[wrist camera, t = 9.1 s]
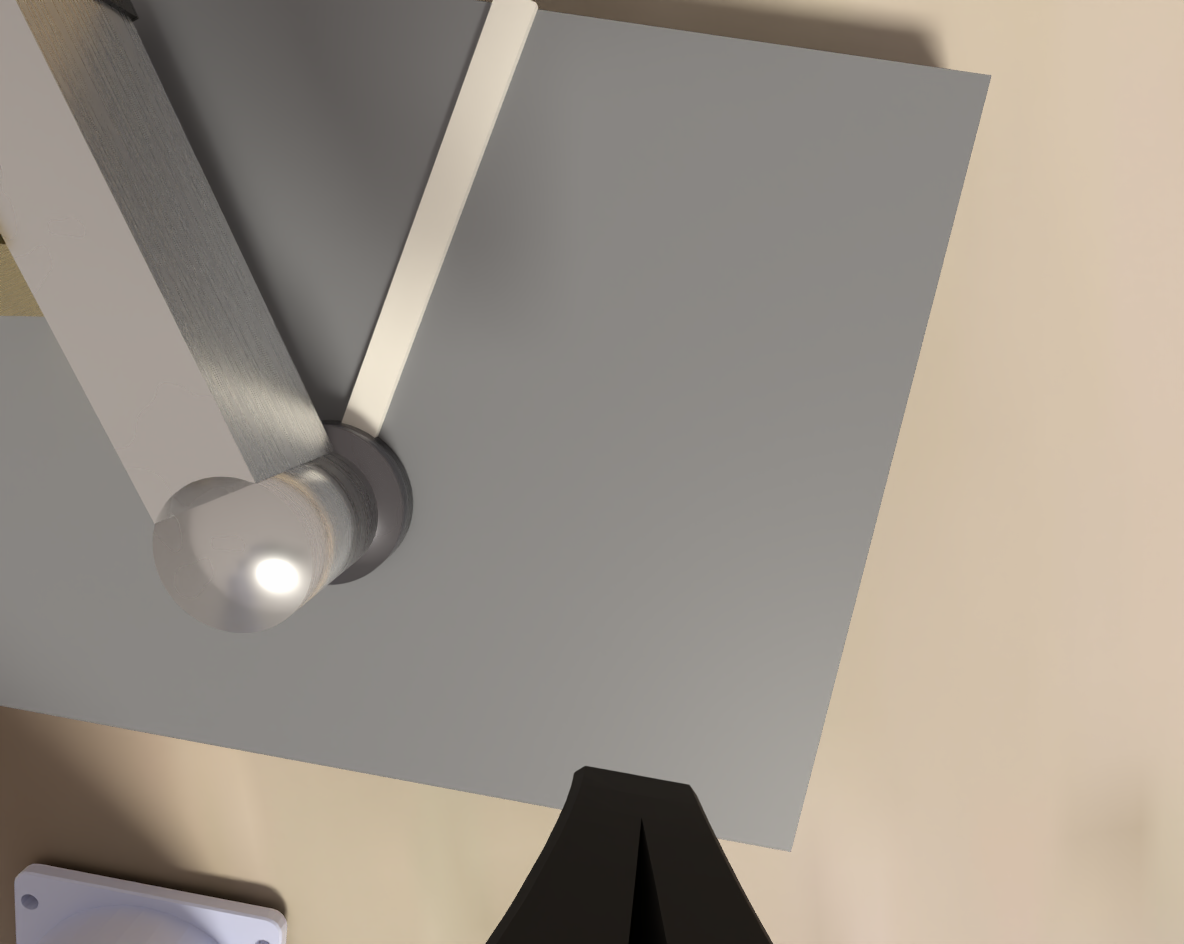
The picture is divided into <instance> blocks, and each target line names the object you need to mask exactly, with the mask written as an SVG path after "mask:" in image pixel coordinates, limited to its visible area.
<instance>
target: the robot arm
mask: <svg viewBox="0 0 1184 944" xmlns="http://www.w3.org/2000/svg"><path fill="white" fill-rule="evenodd" d="M14 891H15V920H16V944H286V936H287V921H286V919H285V917H284V916H283V914H282V913H280V912H279V911H278V910H275V909H272V908H267V907H262V906H257V905H251V904H246V903H241V902H236V901H231V900H226V899H220V898H215V897H210V896H205V895H200V894H194V893H189V892H184V891H179V890H174V889H168V888H163V887H158V886H153V885H148V884H142V883H137V882H132V881H127V880H122V879H116V878H111V877H106V876H101V875H96V874H91V873H85V872H80V871H75V870H70V869H65V868H59V867H54V866H49V865H44V864H31V865H29V866H27V867H26V868H25V869H24V870H23V871H21V872H20V873H19V874H18V875H17V876H16V878H15V882H14ZM267 941H268V942H267ZM486 944H773V943H772V941H771V939H770V937H769V936H768V934H767V932H766V930H765V929H764V927H763V925H762V923H761V922H760V920H759V918H758V916H757V914H756V913H755V911H754V909H753V907H752V905H751V903H750V902H749V900H748V898H747V896H746V894H745V892H744V890H743V889H742V887H741V885H740V883H739V881H738V879H737V877H736V875H735V873H734V871H733V869H732V867H731V865H730V863H729V861H728V859H727V857H726V855H725V853H724V851H723V849H722V847H721V845H720V843H719V841H718V839H717V837H716V835H715V833H714V831H713V829H712V827H711V825H710V823H709V821H708V818H707V816H706V814H705V812H704V810H703V808H702V805H701V803H700V801H699V799H698V797H697V795H696V793H695V792H694V790H693V789H692V787H691V786H690V785H689V784H683V783H678V782H672V781H667V780H661V779H656V778H650V777H645V776H640V775H634V774H629V773H623V772H618V771H612V770H607V769H601V768H596V767H590V766H584V767H582V768H581V769H579V770H577V771H576V772H574V775H573V780H572V784H571V788H570V791H569V793H568V796H567V799H566V802H565V804H564V807H563V809H562V811H561V814H560V816H559V818H558V820H557V822H556V824H555V826H554V828H553V830H552V833H551V835H550V837H549V839H548V841H547V843H546V845H545V847H544V848H543V850H542V852H541V854H540V856H539V857H538V859H537V861H536V863H535V864H534V866H533V868H532V870H531V871H530V873H529V875H528V877H527V878H526V880H525V882H524V883H523V885H522V887H521V889H520V890H519V892H518V894H517V896H516V897H515V899H514V901H513V902H512V904H511V906H510V907H509V909H508V910H507V912H506V914H505V915H504V917H503V918H502V920H501V921H500V923H499V924H498V926H497V927H496V929H495V930H494V932H493V933H492V935H491V936H490V938H489V939H488V941H487V942H486Z"/></svg>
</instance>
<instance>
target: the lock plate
mask: <svg viewBox="0 0 1184 944" xmlns="http://www.w3.org/2000/svg"><path fill="white" fill-rule="evenodd" d="M131 2H132V4H133V6H134V8H135V11H136V13H137V15H138V17H139V19H137V20H136V21H134V22H133V24H134V26H135V28H136V30H137V32H138V35H139V37H140V39H141V41H142V43H143V45H144V47H145V49H146V52H147V54H148V56H149V58H150V60H151V62H152V64H153V66H154V69H155V71H156V73H157V75H158V77H159V79H160V81H161V83H162V86H163V88H164V90H165V92H166V94H167V96H168V98H169V100H170V103H171V105H172V107H173V109H174V111H175V113H176V115H177V117H178V120H179V122H180V124H181V126H182V128H183V130H184V132H185V134H186V137H187V139H188V141H189V143H190V145H191V147H192V149H193V151H194V153H195V156H196V158H197V160H198V162H199V164H200V166H201V168H202V170H203V173H204V175H205V177H206V179H207V181H208V183H209V185H210V187H211V190H212V192H213V194H214V196H215V198H216V200H217V202H218V204H219V207H220V209H221V211H222V213H223V215H224V217H225V219H226V221H227V224H228V226H229V228H230V230H231V232H232V234H233V236H234V238H235V241H236V243H237V245H238V247H239V249H240V251H241V253H242V255H243V257H244V260H245V262H246V264H247V266H248V268H249V270H250V272H251V274H252V277H253V279H254V281H255V283H256V285H257V287H258V289H259V291H260V294H261V296H262V298H263V300H264V302H265V304H266V306H267V308H268V311H269V313H270V315H271V317H272V319H273V321H274V323H275V325H276V328H277V330H278V332H279V334H280V336H281V338H282V340H283V342H284V345H285V347H286V349H287V351H288V353H289V355H290V357H291V359H292V361H293V364H294V366H295V368H296V370H297V372H298V374H299V376H300V378H301V381H302V383H303V385H304V387H305V389H306V391H307V393H308V395H309V398H310V400H311V402H312V404H313V406H314V408H315V410H316V412H317V415H318V417H319V419H320V421H321V420H337V421H342V422H341V423H344V424H348V425H351V426H354V427H356V428H359V429H361V430H363V431H365V432H367V433H369V434H370V435H371V436H373V437H374V438H375V437H377V436H378V437H380V438H381V439H382V440H383V441H384V442H386V443H387V444H388V445H389V446H390V447H391V448H392V450H393V451H394V452H395V453H396V454H397V456H398V457H399V459H400V460H401V462H402V464H403V465H404V467H405V469H406V471H407V474H408V477H409V479H410V483H411V487H412V492H413V515H412V520H411V524H410V527H409V530H408V532H407V534H406V536H405V538H404V540H403V541H402V543H401V544H400V546H399V547H398V548H397V549H396V550H395V552H394V553H393V554H392V555H391V556H389V557H388V558H387V559H386V560H385V561H384V562H383V563H382V564H381V565H380V566H378V567H377V568H376V569H375V570H374V571H372V572H371V573H369V574H367V575H366V576H364V577H362V578H360V579H357V580H355V581H352V582H348V583H344V584H337V585H327V586H326V587H324V588H323V589H322V590H321V591H320V592H318V593H317V594H316V595H315V596H314V597H312V598H311V599H310V600H309V601H308V602H306V603H305V604H304V605H303V606H301V607H300V608H299V609H298V610H297V611H295V612H294V613H293V614H292V615H291V616H289V617H288V618H287V619H286V620H284V621H283V622H281V623H279V624H278V625H276V626H274V627H271V628H269V629H266V630H263V631H259V632H253V633H233V632H227V631H222V630H218V629H216V628H213V627H210V626H208V625H206V624H204V623H202V622H200V621H198V620H197V619H195V618H194V617H192V616H190V615H189V614H188V613H187V612H186V611H184V610H183V609H182V608H181V607H180V606H179V605H178V604H177V603H176V602H175V601H174V600H173V598H172V597H171V596H170V594H169V593H168V592H167V590H166V588H165V587H164V585H163V583H162V581H161V579H160V577H159V575H158V572H157V569H156V566H155V562H154V557H153V546H152V542H153V532H154V527H155V524H154V522H153V520H152V518H151V516H150V515H149V513H148V511H147V509H146V507H145V505H144V503H143V501H142V499H141V498H140V496H139V494H138V492H137V490H136V488H135V486H134V484H133V482H132V481H131V479H130V477H129V475H128V473H127V471H126V469H125V467H124V466H123V464H122V462H121V460H120V458H119V456H118V454H117V452H116V450H115V449H114V447H113V445H112V443H111V441H110V439H109V437H108V435H107V433H106V432H105V430H104V428H103V426H102V424H101V422H100V420H99V418H98V416H97V415H96V413H95V411H94V409H93V407H92V405H91V403H90V401H89V400H88V398H87V396H86V394H85V392H84V390H83V388H82V386H81V384H80V383H79V381H78V379H77V377H76V375H75V373H74V371H73V369H72V367H71V366H70V364H69V362H68V360H67V358H66V356H65V354H64V352H63V350H62V349H61V347H60V345H59V343H58V341H57V339H56V337H55V335H54V333H53V332H52V330H51V328H50V326H49V324H48V322H47V320H46V318H45V317H34V316H0V706H4V707H10V708H15V709H21V710H26V711H31V712H37V713H42V714H48V715H53V716H58V717H64V718H69V719H75V720H80V721H85V722H91V723H96V724H102V725H107V726H112V727H118V728H123V729H129V730H134V731H139V732H145V733H150V734H156V735H161V736H167V737H172V738H177V739H183V740H188V741H194V742H199V743H204V744H210V745H215V746H221V747H226V748H231V749H237V750H242V751H248V752H253V753H258V754H264V755H269V756H275V757H280V758H285V759H291V760H296V761H302V762H307V763H312V764H318V765H323V766H329V767H334V768H339V769H345V770H350V771H356V772H361V773H366V774H372V775H377V776H383V777H388V778H394V779H399V780H404V781H410V782H415V783H421V784H426V785H431V786H437V787H442V788H448V789H453V790H458V791H464V792H469V793H475V794H480V795H485V796H491V797H496V798H502V799H507V800H512V801H518V802H523V803H529V804H534V805H539V806H545V807H550V808H556V809H561V810H562V809H563V807H564V804H565V802H566V799H567V796H568V793H569V791H570V788H571V784H572V780H573V775H574V772H576V771H577V770H579V769H581V768H582V767H584V766H590V767H596V768H601V769H607V770H612V771H618V772H623V773H629V774H634V775H640V776H645V777H650V778H656V779H661V780H667V781H672V782H678V783H683V784H689V785H690V786H691V787H692V789H693V790H694V792H695V793H696V795H697V797H698V799H699V801H700V803H701V805H702V808H703V810H704V812H705V814H706V816H707V818H708V821H709V823H710V825H711V827H712V829H713V831H714V833H715V835H716V837H717V838H718V839H723V840H729V841H734V842H739V843H745V844H750V845H756V846H761V847H766V848H772V849H777V850H783V851H788V852H791V849H792V845H793V842H794V838H795V834H796V830H797V826H798V822H799V818H800V814H801V811H802V807H803V803H804V799H805V795H806V791H807V787H808V784H809V780H810V776H811V772H812V768H813V764H814V760H815V756H816V753H817V749H818V745H819V741H820V737H821V733H822V729H823V725H824V722H825V718H826V714H827V710H828V706H829V702H830V698H831V694H832V691H833V687H834V683H835V679H836V675H837V671H838V667H839V664H840V660H841V656H842V652H843V648H844V644H845V640H846V636H847V633H848V629H849V625H850V621H851V617H852V613H853V609H854V605H855V602H856V598H857V594H858V590H859V586H860V582H861V578H862V575H863V571H864V567H865V563H866V559H867V555H868V551H869V547H870V544H871V540H872V536H873V532H874V528H875V524H876V520H877V516H878V513H879V509H880V505H881V501H882V497H883V493H884V489H885V486H886V482H887V478H888V474H889V470H890V466H891V462H892V458H893V455H894V451H895V447H896V443H897V439H898V435H899V431H900V427H901V424H902V420H903V416H904V412H905V408H906V404H907V400H908V397H909V393H910V389H911V385H912V381H913V377H914V373H915V369H916V366H917V362H918V358H919V354H920V350H921V346H922V342H923V338H924V335H925V331H926V327H927V323H928V319H929V315H930V311H931V307H932V304H933V300H934V296H935V292H936V288H937V284H938V280H939V277H940V273H941V269H942V265H943V261H944V257H945V253H946V249H947V246H948V242H949V238H950V234H951V230H952V226H953V222H954V218H955V215H956V211H957V207H958V203H959V199H960V195H961V191H962V188H963V184H964V180H965V176H966V172H967V168H968V164H969V160H970V157H971V153H972V149H973V145H974V141H975V137H976V133H977V129H978V126H979V122H980V118H981V114H982V110H983V106H984V102H985V99H986V95H987V91H988V87H989V83H990V79H991V75H985V74H978V73H971V72H964V71H958V70H951V69H944V68H937V67H930V66H923V65H916V64H910V63H903V62H896V61H889V60H882V59H875V58H868V57H862V56H855V55H848V54H841V53H834V52H827V51H820V50H814V49H807V48H800V47H793V46H786V45H779V44H772V43H766V42H759V41H752V40H745V39H738V38H731V37H724V36H718V35H711V34H704V33H697V32H690V31H683V30H676V29H670V28H663V27H656V26H649V25H642V24H635V23H628V22H622V21H615V20H608V19H601V18H594V17H587V16H580V15H574V14H567V13H560V12H553V11H546V10H539V9H538V6H537V3H536V2H533V1H531V0H493V2H492V3H491V2H484V1H478V0H131Z"/></svg>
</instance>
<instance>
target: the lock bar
mask: <svg viewBox="0 0 1184 944" xmlns="http://www.w3.org/2000/svg"><path fill="white" fill-rule="evenodd" d="M137 19H139V17H138V15H137V13H136V11H135V8H134V6H133V4H132V2H131V0H0V234H1V235H2V237H3V239H4V241H5V243H6V245H7V247H8V249H9V251H10V252H11V254H12V256H13V258H14V260H15V262H16V264H17V266H18V267H19V269H20V271H21V273H22V275H23V277H24V279H25V281H26V283H27V284H28V286H29V288H30V290H31V292H32V294H33V296H34V298H35V300H36V301H37V303H38V305H39V307H40V309H41V311H42V313H43V315H44V317H45V318H46V320H47V322H48V324H49V326H50V328H51V330H52V332H53V333H54V335H55V337H56V339H57V341H58V343H59V345H60V347H61V349H62V350H63V352H64V354H65V356H66V358H67V360H68V362H69V364H70V366H71V367H72V369H73V371H74V373H75V375H76V377H77V379H78V381H79V383H80V384H81V386H82V388H83V390H84V392H85V394H86V396H87V398H88V400H89V401H90V403H91V405H92V407H93V409H94V411H95V413H96V415H97V416H98V418H99V420H100V422H101V424H102V426H103V428H104V430H105V432H106V433H107V435H108V437H109V439H110V441H111V443H112V445H113V447H114V449H115V450H116V452H117V454H118V456H119V458H120V460H121V462H122V464H123V466H124V467H125V469H126V471H127V473H128V475H129V477H130V479H131V481H132V482H133V484H134V486H135V488H136V490H137V492H138V494H139V496H140V498H141V499H142V501H143V503H144V505H145V507H146V509H147V511H148V513H149V515H150V516H151V518H152V520H153V522H154V524H155V527H154V532H153V542H152V546H153V557H154V562H155V566H156V569H157V572H158V575H159V577H160V579H161V581H162V583H163V585H164V587H165V588H166V590H167V592H168V593H169V594H170V596H171V597H172V598H173V600H174V601H175V602H176V603H177V604H178V605H179V606H180V607H181V608H182V609H183V610H184V611H186V612H187V613H188V614H189V615H190V616H192V617H194V618H195V619H197V620H198V621H200V622H202V623H204V624H206V625H208V626H210V627H213V628H216V629H218V630H222V631H227V632H233V633H253V632H259V631H263V630H266V629H269V628H271V627H274V626H276V625H278V624H279V623H281V622H283V621H284V620H286V619H287V618H288V617H289V616H291V615H292V614H293V613H294V612H295V611H297V610H298V609H299V608H300V607H301V606H303V605H304V604H305V603H306V602H308V601H309V600H310V599H311V598H312V597H314V596H315V595H316V594H317V593H318V592H320V591H321V590H322V589H323V588H324V587H326V586H327V585H328V584H329V583H331V582H332V581H333V580H334V579H335V578H337V577H338V576H339V575H340V574H341V573H343V572H344V571H345V570H346V569H347V568H349V567H350V566H351V565H352V564H354V563H355V562H356V561H357V560H358V559H359V558H361V557H362V556H363V555H364V553H365V552H366V551H367V550H368V548H369V547H370V545H371V543H372V541H373V539H374V537H375V533H376V530H377V524H378V508H377V502H376V498H375V495H374V492H373V490H372V487H371V485H370V484H369V482H368V480H367V479H366V477H365V476H364V474H363V473H362V472H361V471H360V470H359V469H358V467H357V466H355V465H354V464H353V463H352V462H351V461H350V460H348V459H347V458H345V457H344V456H342V455H340V454H338V453H336V452H334V449H333V446H332V444H331V442H330V440H329V438H328V436H327V434H326V432H325V429H324V427H323V425H322V423H321V421H320V419H319V417H318V415H317V412H316V410H315V408H314V406H313V404H312V402H311V400H310V398H309V395H308V393H307V391H306V389H305V387H304V385H303V383H302V381H301V378H300V376H299V374H298V372H297V370H296V368H295V366H294V364H293V361H292V359H291V357H290V355H289V353H288V351H287V349H286V347H285V345H284V342H283V340H282V338H281V336H280V334H279V332H278V330H277V328H276V325H275V323H274V321H273V319H272V317H271V315H270V313H269V311H268V308H267V306H266V304H265V302H264V300H263V298H262V296H261V294H260V291H259V289H258V287H257V285H256V283H255V281H254V279H253V277H252V274H251V272H250V270H249V268H248V266H247V264H246V262H245V260H244V257H243V255H242V253H241V251H240V249H239V247H238V245H237V243H236V241H235V238H234V236H233V234H232V232H231V230H230V228H229V226H228V224H227V221H226V219H225V217H224V215H223V213H222V211H221V209H220V207H219V204H218V202H217V200H216V198H215V196H214V194H213V192H212V190H211V187H210V185H209V183H208V181H207V179H206V177H205V175H204V173H203V170H202V168H201V166H200V164H199V162H198V160H197V158H196V156H195V153H194V151H193V149H192V147H191V145H190V143H189V141H188V139H187V137H186V134H185V132H184V130H183V128H182V126H181V124H180V122H179V120H178V117H177V115H176V113H175V111H174V109H173V107H172V105H171V103H170V100H169V98H168V96H167V94H166V92H165V90H164V88H163V86H162V83H161V81H160V79H159V77H158V75H157V73H156V71H155V69H154V66H153V64H152V62H151V60H150V58H149V56H148V54H147V52H146V49H145V47H144V45H143V43H142V41H141V39H140V37H139V35H138V32H137V30H136V28H135V26H134V24H133V22H134V21H136V20H137Z"/></svg>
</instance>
